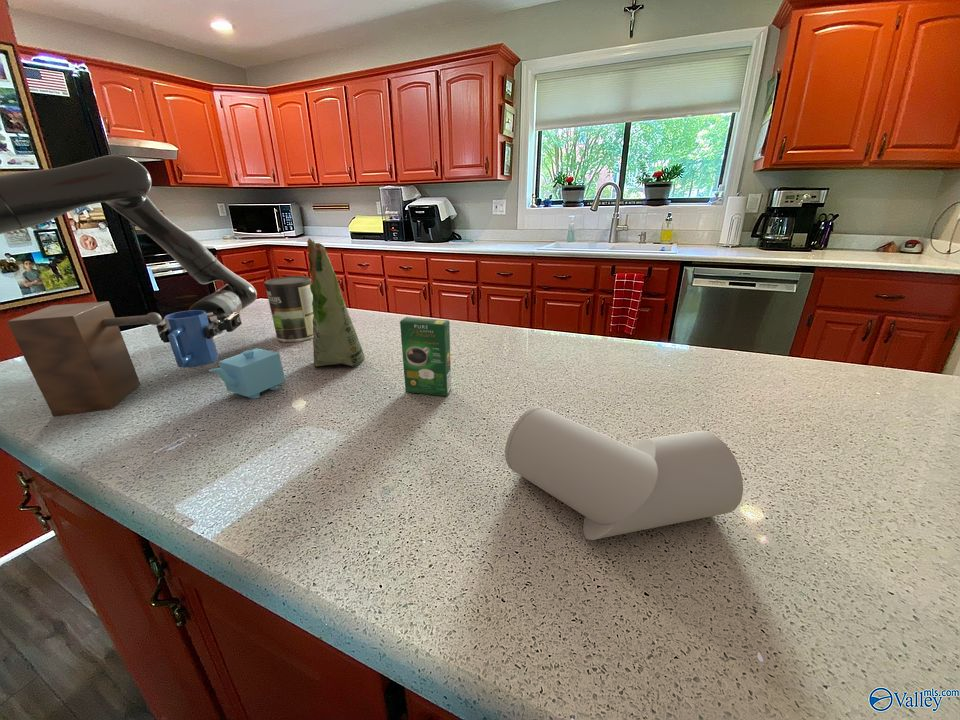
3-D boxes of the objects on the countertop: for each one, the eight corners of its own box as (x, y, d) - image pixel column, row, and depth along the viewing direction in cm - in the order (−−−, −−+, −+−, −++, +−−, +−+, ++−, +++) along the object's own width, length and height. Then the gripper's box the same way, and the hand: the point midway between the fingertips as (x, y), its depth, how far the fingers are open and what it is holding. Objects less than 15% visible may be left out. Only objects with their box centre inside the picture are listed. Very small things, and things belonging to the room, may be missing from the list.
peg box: (53, 416, 64) (6, 321, 58) (89, 390, 73) (52, 305, 67) (168, 401, 68) (136, 310, 62) (190, 378, 77) (163, 297, 71)
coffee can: (287, 345, 93) (274, 286, 88) (270, 336, 100) (257, 280, 94) (328, 334, 100) (318, 279, 95) (309, 327, 107) (299, 274, 101)
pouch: (346, 375, 76) (324, 241, 67) (295, 369, 80) (267, 240, 70) (376, 355, 86) (361, 235, 77) (330, 350, 90) (309, 235, 80)
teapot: (231, 411, 64) (218, 368, 61) (209, 403, 67) (195, 362, 64) (293, 382, 74) (285, 344, 71) (271, 376, 77) (263, 340, 74)
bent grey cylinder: (550, 582, 33) (753, 538, 37) (546, 464, 31) (759, 430, 35) (498, 485, 50) (640, 461, 54) (493, 405, 48) (640, 386, 52)
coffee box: (454, 390, 70) (450, 318, 65) (448, 397, 67) (444, 323, 62) (411, 386, 72) (404, 316, 67) (404, 393, 69) (397, 320, 64)
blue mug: (187, 357, 80) (172, 311, 76) (222, 353, 82) (210, 308, 78) (162, 379, 70) (144, 328, 66) (203, 375, 71) (188, 324, 68)
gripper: (171, 299, 85) (133, 319, 70) (246, 294, 89) (224, 312, 74) (182, 332, 88) (147, 359, 73) (253, 326, 92) (234, 350, 77)
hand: (186, 335), depth 74 cm, fingers closed on blue mug, 6 cm apart
